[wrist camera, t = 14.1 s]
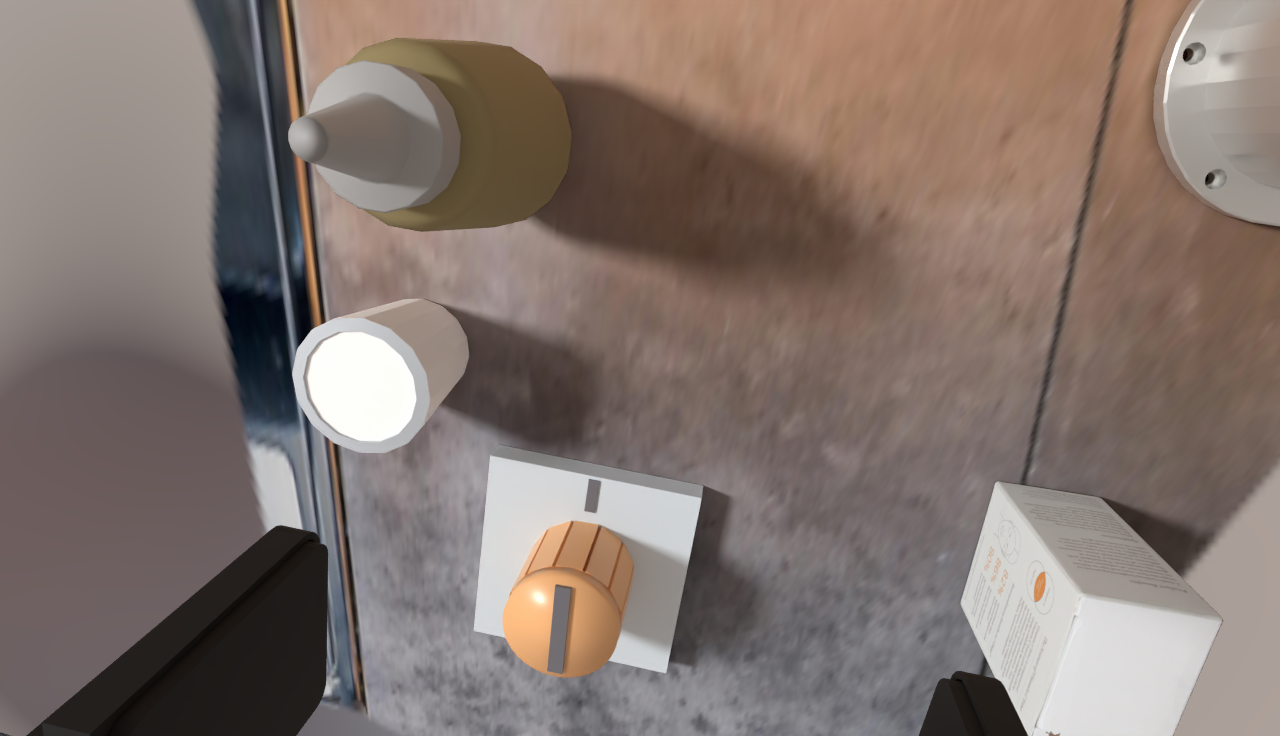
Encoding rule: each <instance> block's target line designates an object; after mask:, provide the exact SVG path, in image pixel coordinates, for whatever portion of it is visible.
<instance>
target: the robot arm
mask: <svg viewBox="0 0 1280 736" xmlns="http://www.w3.org/2000/svg"><path fill="white" fill-rule="evenodd" d="M1184 50H1186V51H1187V53H1188V55H1187V58H1186V60H1185V61H1184V59H1183V52H1184ZM1154 123H1155V129H1156V134H1157V139H1158V144H1159V147H1160V149H1161V151H1162V154H1163V156H1164V158H1165V160H1166V163H1167V165H1168V167H1169V169H1170V170H1171V171H1172V173H1173V174H1174V175H1175V177H1176V178H1177V179H1178V181H1179V182H1180V183H1181V185H1182V186H1183V187H1184V188H1185V189H1186V190H1187V191H1188V192H1189V193H1191V194H1192V195H1193V196H1194V197H1195V198H1197V199H1198V200H1199V201H1200V202H1202V203H1203V204H1204V205H1206V206H1208V207H1210V208H1212V209H1214V210H1216V211H1218V212H1220V213H1222V214H1224V215H1226V216H1230V217H1234V218H1237V219H1241V220H1245V221H1249V222H1252V223H1260V224H1267V225H1274V226H1280V0H1191V2H1190V3H1189V5H1188V6H1187V8H1186V10H1185V11H1184V13H1183V14H1182V16H1181V18H1180V19H1179V21H1178V23H1177V24H1176V26H1175V28H1174V29H1173V31H1172V33H1171V36H1170V38H1169V41H1168V43H1167V45H1166V48H1165V50H1164V53H1163V55H1162V58H1161V60H1160V65H1159V69H1158V74H1157V79H1156V83H1155V88H1154ZM1207 175H1209V179H1208V181H1207V182H1206V183H1205V177H1206V176H1207ZM327 590H328V549H327V547H326V546H325V545H324V544H320V542H319V537H318V535H317V534H316V533H314V532H310V531H305V530H301V529H296V528H291V527H287V526H282V525H281V526H276V527H274V528H273V529H271V530H270V531H269V532H268V533H267V534H265V535H264V536H263V537H262V538H261V539H259V540H258V541H257V542H256V543H255V544H253V545H252V546H251V547H250V548H249V549H248V550H247V551H245V552H244V553H243V554H242V555H240V556H239V557H238V558H237V559H236V560H234V561H233V562H232V563H231V564H230V565H229V566H227V567H226V568H225V569H224V570H223V571H221V572H220V573H219V574H218V575H217V576H216V577H214V578H213V579H212V580H211V581H209V582H208V583H207V584H206V585H205V586H204V587H202V588H201V589H200V590H199V591H198V592H196V593H195V594H194V595H193V596H192V597H191V598H189V599H188V600H187V601H186V602H185V603H183V604H182V605H181V606H180V607H179V608H177V609H176V610H175V611H174V612H173V613H172V614H170V615H169V616H168V617H167V618H166V619H164V620H163V621H162V622H161V623H160V624H158V625H157V626H156V627H155V628H154V629H152V630H151V631H150V632H149V633H148V634H146V635H145V636H144V637H143V638H142V639H141V640H140V641H138V642H137V643H136V644H135V645H134V646H132V647H131V648H130V649H129V650H128V651H126V652H125V653H124V654H123V655H121V656H120V657H119V658H118V659H117V660H116V661H114V662H113V663H112V664H111V665H110V666H109V667H107V668H106V669H105V670H104V671H103V672H101V673H100V674H99V675H98V676H97V677H95V678H94V679H93V680H92V681H91V682H89V683H88V684H87V685H86V686H85V687H83V688H82V689H81V690H80V691H79V692H78V693H76V694H75V695H74V696H73V697H72V698H70V699H69V700H68V701H67V702H66V703H64V704H63V705H62V706H61V707H60V708H59V709H57V710H56V711H55V712H54V713H53V714H51V715H50V716H49V717H48V718H47V719H46V720H44V721H43V722H42V723H41V724H40V725H39V726H37V727H36V728H35V729H34V730H33V731H31V732H30V733H29V734H28V735H27V736H296V735H297V734H298V733H299V731H300V730H301V728H302V727H303V726H304V724H305V723H306V722H307V720H308V719H309V718H310V716H311V715H312V713H313V712H314V711H315V709H316V708H317V706H318V705H319V703H320V701H321V699H322V696H323V694H324V690H325V686H326V658H327ZM0 736H11V735H8V734H5V733H2V732H0ZM919 736H1028V734H1027V732H1026V730H1025V728H1024V726H1023V724H1022V722H1021V720H1020V718H1019V716H1018V713H1017V711H1016V709H1015V707H1014V705H1013V703H1012V701H1011V699H1010V697H1009V695H1008V693H1007V691H1006V688H1005V687H1004V685H1003V683H1002V682H1001V681H1000V680H998V679H995V678H990V677H986V676H981V675H976V674H972V673H967V672H962V671H956V672H955V673H954V674H953V675H952V677H951V679H945V678H943V679H941V680H940V681H939V682H938V684H937V687H936V689H935V692H934V695H933V698H932V700H931V703H930V706H929V709H928V712H927V714H926V717H925V720H924V723H923V726H922V728H921V731H920V734H919Z"/></svg>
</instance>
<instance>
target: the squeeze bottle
mask: <svg viewBox="0 0 1280 736" xmlns="http://www.w3.org/2000/svg"><path fill="white" fill-rule="evenodd" d="M571 140H572V131H571V127H570V123H569V119H568V115H567V111H566V107H565V103H564V99H563V97H562V95H561V94H560V93H559V91H558V90H557V88H556V87H555V85H554V84H553V83H552V81H551V80H550V78H549V77H548V75H547V74H546V73H545V71H544V70H543V68H542V67H541V66H539V65H538V64H536V63H535V62H533V61H532V60H530V59H529V58H527V57H526V56H524V55H522V54H521V53H519V52H518V51H516V50H515V49H513V48H512V47H508V46H502V45H496V44H489V43H483V42H477V41H456V40H433V39H410V38H395V39H391V40H388V41H385V42H381V43H378V44H375V45H371V46H368V47H365V48H363V49H362V50H361V51H360V52H358V53H357V54H356V55H355V56H354V57H353V58H352V59H351V60H350V61H349V62H348V63H347V64H346V65H345V66H341V67H338V68H337V69H336V70H335V71H334V72H332V73H331V74H330V75H329V76H328V77H327V78H326V79H325V80H324V81H323V82H322V83H321V84H320V85H319V86H318V87H317V90H316V92H315V95H314V97H313V100H312V102H311V104H310V107H309V109H308V112H307V115H306V116H303V117H300V118H298V119H296V120H295V121H294V122H293V123H292V124H291V127H290V129H289V143H290V146H291V149H292V150H293V151H294V153H295V154H296V155H297V156H298V157H299V158H301V159H303V160H304V161H307V162H310V163H313V164H315V166H316V169H317V171H318V172H319V173H320V175H321V176H322V177H323V178H324V180H325V181H326V182H327V183H328V185H329V186H330V187H331V189H332V190H333V191H334V192H335V194H337V195H339V196H340V197H342V198H343V199H345V200H347V201H348V202H350V203H351V204H353V205H355V206H356V207H358V208H360V209H363V210H365V211H366V212H368V213H369V214H371V215H372V216H374V217H376V218H377V219H379V220H380V221H382V222H384V223H385V224H387V225H388V226H394V227H399V228H404V229H410V230H415V231H421V232H424V231H440V230H456V229H473V228H489V227H497V226H502V225H506V224H510V223H514V222H518V221H523V220H526V219H527V218H529V217H530V216H531V215H532V214H534V213H535V212H536V211H538V210H539V209H540V208H542V207H543V206H544V205H545V204H547V203H548V202H549V201H551V200H552V198H553V196H554V194H555V192H556V191H557V189H558V187H559V185H560V183H561V182H562V180H563V178H564V176H565V174H566V172H567V171H568V165H569V156H570V148H571Z"/></svg>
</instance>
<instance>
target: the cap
mask: <svg viewBox="0 0 1280 736" xmlns="http://www.w3.org/2000/svg"><path fill="white" fill-rule="evenodd" d="M598 528H599V524H593V523H587V522H582V521H576V520H575V521H574V523H572V521H568V522H565V523H562V524H559V525H556V526H553V527H550V528H549V530H546V531H545V532H544V534H543V535H542V536H541V537H540V538H539V540H538V541H537V542H536V543H535V544H534V546H533V548H532V550H531V552H530V554H529V556H528V558H527V560H526V562H525V564H524V566H523V568H522V570H521V572H520V574H519V576H518V578H517V580H516V582H515V584H514V586H513V588H512V590H511V592H510V594H509V599H508V601H507V603H506V605H505V608H504V611H503V618H502V620H503V630H504V634H505V637H506V639H507V641H508V644H509V645H510V647H511V648H512V650H513V651H514V652H515V654H516V655H517V656H518V657H519V658H520V659H521V660H522V661H524V662H525V663H526V664H527V665H529V666H531V667H532V668H534V669H536V670H538V671H540V672H543V673H545V674H548V675H552V676H557V677H579V676H584V675H587V674H590V673H592V672H594V671H596V670H598V669H599V668H601V667H602V666H603V665H604V664H605V663H606V662H607V661H608V660H609V659H610V658H611V656H612V654H613V653H614V651H615V648H616V645H617V641H618V638H619V637H620V633H621V629H622V625H623V620H624V616H625V612H626V608H627V604H628V600H629V595H630V591H631V587H632V580H633V572H634V566H633V564H634V563H633V561H632V558H631V556H630V554H629V552H628V550H627V548H626V546H625V544H624V543H622V544H621V542H622V540H621V539H619V538H618V537H617V536H615V535H614V534H613V533H611V532H610V531H609V530H607V529H606V528H604V527H603V526H602V527H601V528H600V529H599V530H598Z"/></svg>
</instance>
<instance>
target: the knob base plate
mask: <svg viewBox="0 0 1280 736" xmlns="http://www.w3.org/2000/svg"><path fill="white" fill-rule="evenodd" d="M702 492H703V486H702V485H697V484H692V483H687V482H682V481H677V480H672V479H667V478H662V477H657V476H652V475H647V474H642V473H637V472H633V471H628V470H623V469H618V468H613V467H608V466H603V465H598V464H593V463H588V462H583V461H578V460H573V459H568V458H563V457H558V456H553V455H548V454H543V453H538V452H533V451H528V450H523V449H518V448H513V447H508V446H503V445H498V446H497V448H496V449H495V450H494V452H493V453H492V454H491V455H490V465H489V475H488V486H487V496H486V507H485V518H484V528H483V539H482V549H481V560H480V570H479V581H478V591H477V602H476V612H475V623H474V631H477V632H482V633H486V634H491V635H495V636H500V637H504V638H506V637H505V634H504V630H503V620H502V618H503V611H504V608H505V605H506V603H507V601H508V599H509V594H510V592H511V590H512V588H513V586H514V584H515V582H516V580H517V578H518V576H519V574H520V572H521V570H522V568H523V566H524V564H525V562H526V560H527V558H528V556H529V554H530V552H531V550H532V548H533V546H534V544H535V543H536V542H537V541H538V540H539V538H540V537H541V536H542V535H543V534H544V532H545V531H546V530H549V528H550V527H553V526H556V525H559V524H562V523H565V522H568V521H572V523H574V521H575V520H576V521H582V522H587V523H593V524H599V528H598V530H599V529H600V528H601V527H602V526H603V527H604V528H606V529H607V530H609V531H610V532H611V533H613V534H614V535H615V536H617V537H618V538H619V539H621V540H622V542H621V544H622V543H624V544H625V546H626V548H627V550H628V552H629V554H630V556H631V558H632V561H633V563H634V564H633V566H634V572H633V580H632V587H631V591H630V595H629V600H628V604H627V608H626V612H625V616H624V620H623V625H622V629H621V633H620V637H619V638H618V641H617V645H616V648H615V651H614V653H613V654H612V656H611V658H610V659H609V660H608V661H613V662H617V663H622V664H626V665H631V666H635V667H640V668H644V669H649V670H653V671H658V672H662V673H666V671H667V666H668V661H669V656H670V651H671V646H672V642H673V637H674V632H675V627H676V622H677V617H678V612H679V607H680V602H681V598H682V593H683V588H684V583H685V578H686V573H687V568H688V563H689V559H690V554H691V549H692V544H693V539H694V534H695V529H696V524H697V519H698V515H699V510H700V505H701V500H702Z"/></svg>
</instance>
